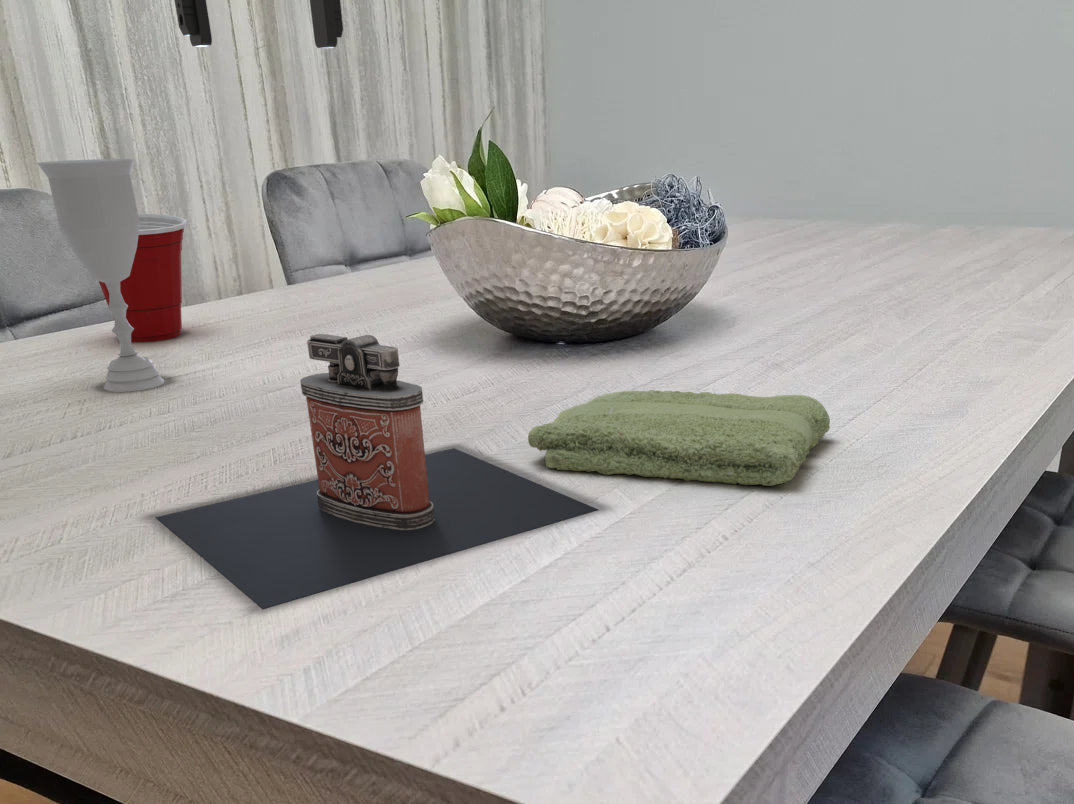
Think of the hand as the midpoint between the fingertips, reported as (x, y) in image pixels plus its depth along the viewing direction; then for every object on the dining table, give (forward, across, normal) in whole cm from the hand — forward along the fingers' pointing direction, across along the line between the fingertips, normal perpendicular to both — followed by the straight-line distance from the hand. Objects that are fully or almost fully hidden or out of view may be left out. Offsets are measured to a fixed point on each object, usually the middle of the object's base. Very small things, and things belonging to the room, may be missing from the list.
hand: (266, 46), depth 69 cm
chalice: (+25, +8, -20) cm, 33 cm away
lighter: (+25, +6, +23) cm, 34 cm away
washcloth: (+25, -15, +25) cm, 39 cm away
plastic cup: (+25, 0, -41) cm, 48 cm away
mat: (+25, +6, +23) cm, 35 cm away
